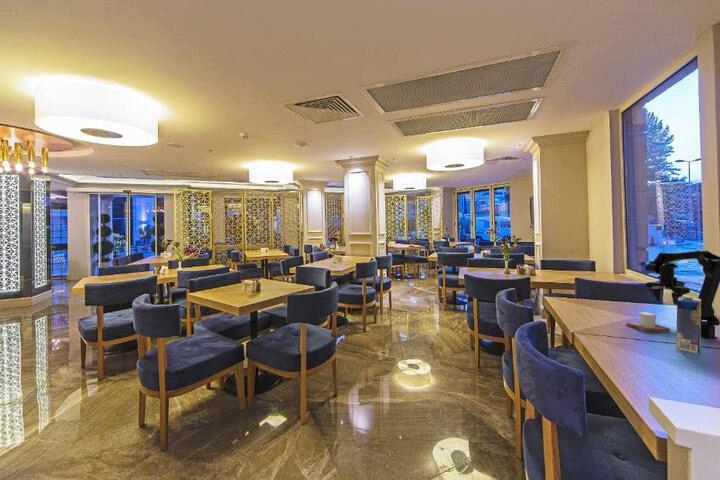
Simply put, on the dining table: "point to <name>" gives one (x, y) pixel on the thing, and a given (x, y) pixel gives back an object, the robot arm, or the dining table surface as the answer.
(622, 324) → the dining table surface
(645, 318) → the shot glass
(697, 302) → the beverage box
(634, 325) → the serving board
